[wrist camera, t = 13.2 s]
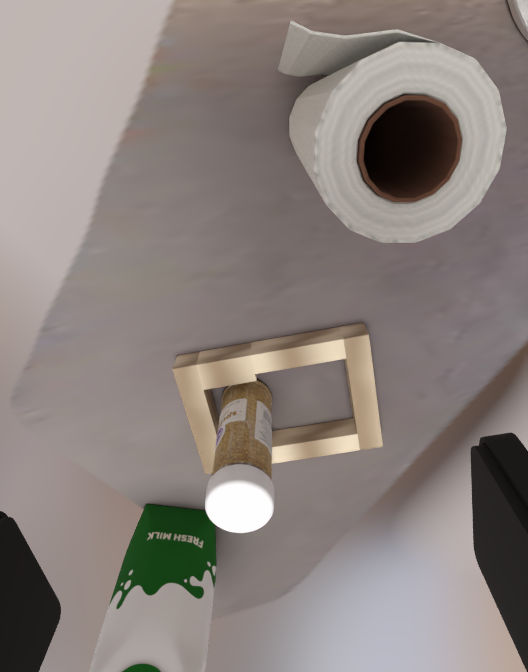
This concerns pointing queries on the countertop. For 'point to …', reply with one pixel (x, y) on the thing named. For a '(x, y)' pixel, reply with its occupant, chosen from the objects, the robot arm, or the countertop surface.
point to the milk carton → (162, 596)
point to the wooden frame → (276, 354)
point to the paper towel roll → (394, 130)
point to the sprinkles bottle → (242, 460)
